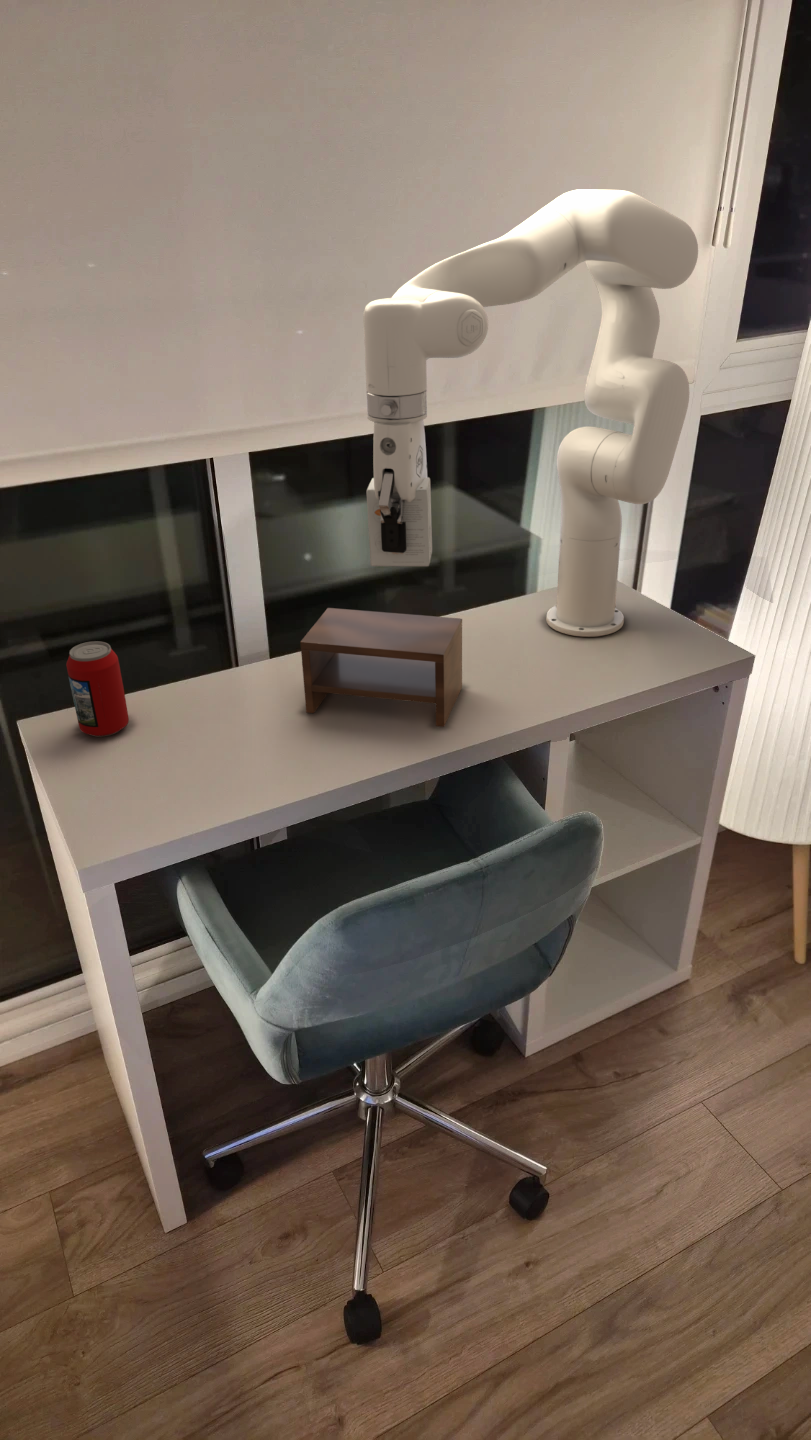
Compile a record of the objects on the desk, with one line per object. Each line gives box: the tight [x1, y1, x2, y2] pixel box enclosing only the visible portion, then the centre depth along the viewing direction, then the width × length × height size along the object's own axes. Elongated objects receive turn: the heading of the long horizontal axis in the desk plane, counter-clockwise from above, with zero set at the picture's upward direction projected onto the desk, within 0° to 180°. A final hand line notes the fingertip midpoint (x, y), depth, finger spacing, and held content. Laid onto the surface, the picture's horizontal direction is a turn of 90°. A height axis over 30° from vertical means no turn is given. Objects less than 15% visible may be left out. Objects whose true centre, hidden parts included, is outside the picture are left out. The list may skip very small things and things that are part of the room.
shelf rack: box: [300, 607, 463, 728], centre depth 146 cm, size 12×20×11 cm, turn 76°
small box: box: [366, 477, 433, 567], centre depth 137 cm, size 8×6×10 cm
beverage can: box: [65, 640, 130, 738], centre depth 141 cm, size 7×7×12 cm
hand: (400, 541), depth 138 cm, fingers closed on small box, 6 cm apart
